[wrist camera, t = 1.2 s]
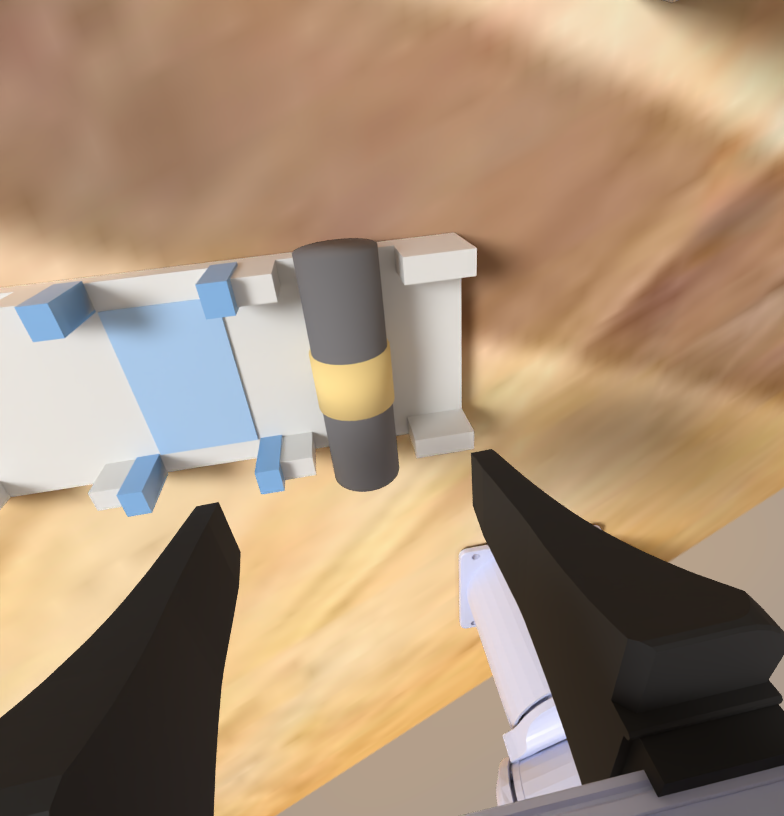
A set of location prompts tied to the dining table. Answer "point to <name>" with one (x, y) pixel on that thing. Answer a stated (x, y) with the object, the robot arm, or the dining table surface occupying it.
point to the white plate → (209, 372)
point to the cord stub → (350, 358)
